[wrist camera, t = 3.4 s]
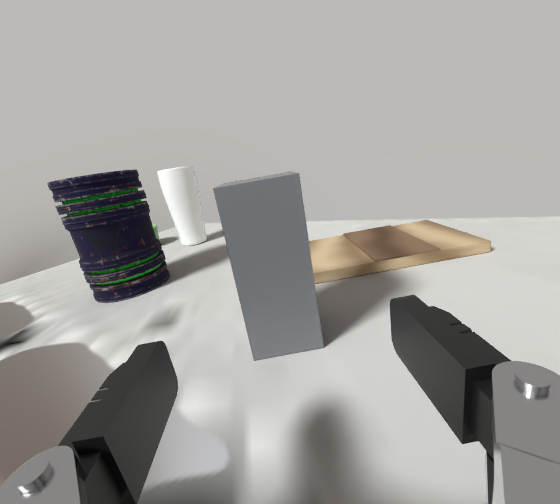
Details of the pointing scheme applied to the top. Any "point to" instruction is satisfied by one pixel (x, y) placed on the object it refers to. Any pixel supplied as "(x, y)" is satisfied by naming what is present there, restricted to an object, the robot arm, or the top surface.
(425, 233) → the board
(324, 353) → the top surface
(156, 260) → the storage jar
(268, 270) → the tall grey rectangular prism
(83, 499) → the robot arm
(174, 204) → the drinking glass
